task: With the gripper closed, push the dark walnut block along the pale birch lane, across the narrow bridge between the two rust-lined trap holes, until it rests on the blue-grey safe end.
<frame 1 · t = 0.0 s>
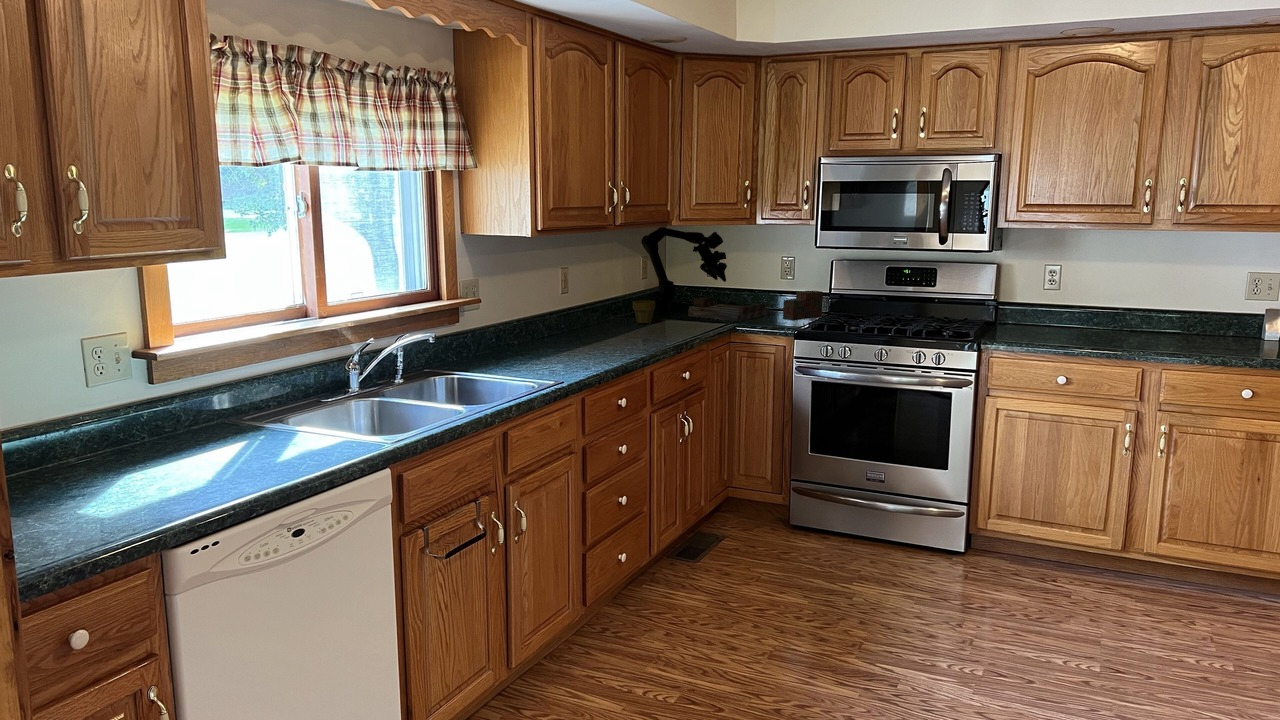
hand: (721, 280, 455), 15 cm above the worktop, tool tilted 35°, fingers open, 9 cm apart
walnut block: (702, 306, 448), point 3 cm above the worktop, touching trap deck
stack of blocks: (802, 318, 432), on the worktop
plant pot: (643, 323, 416), on the worktop
trap deck: (722, 314, 441), on the worktop
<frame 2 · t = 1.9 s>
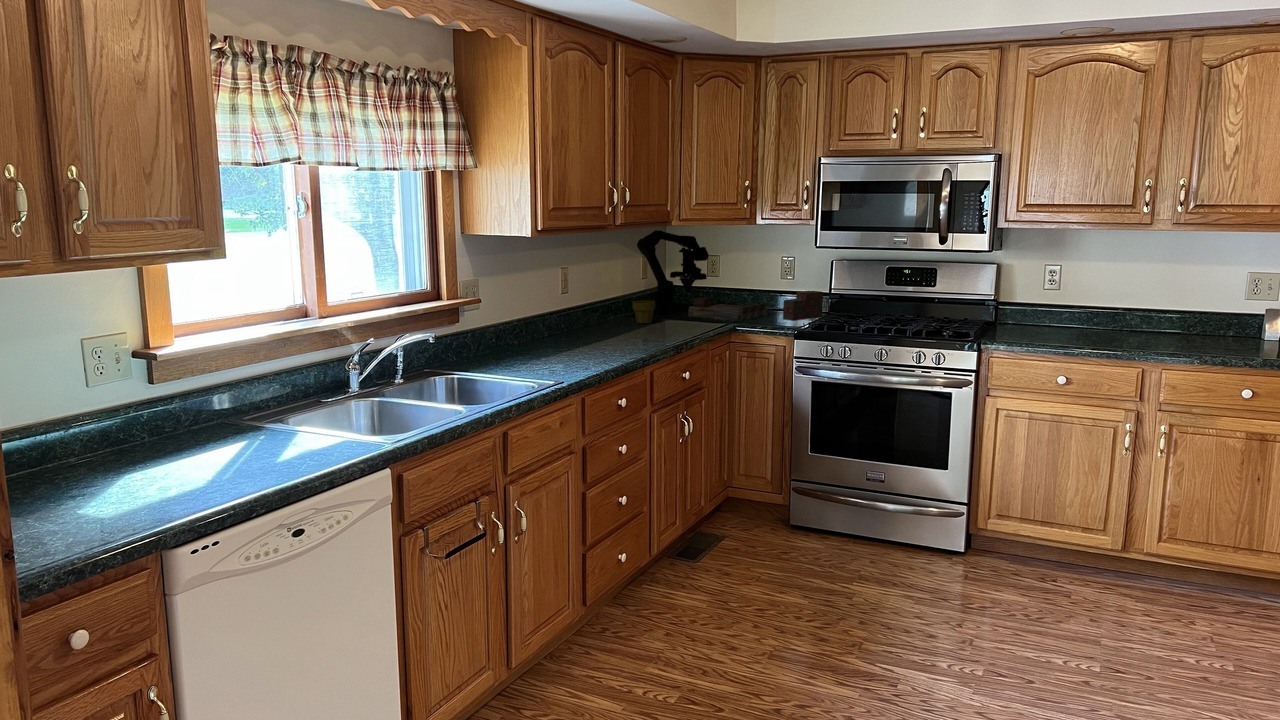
hand: (687, 293, 452), 9 cm above the worktop, tool pointing down, fingers closed
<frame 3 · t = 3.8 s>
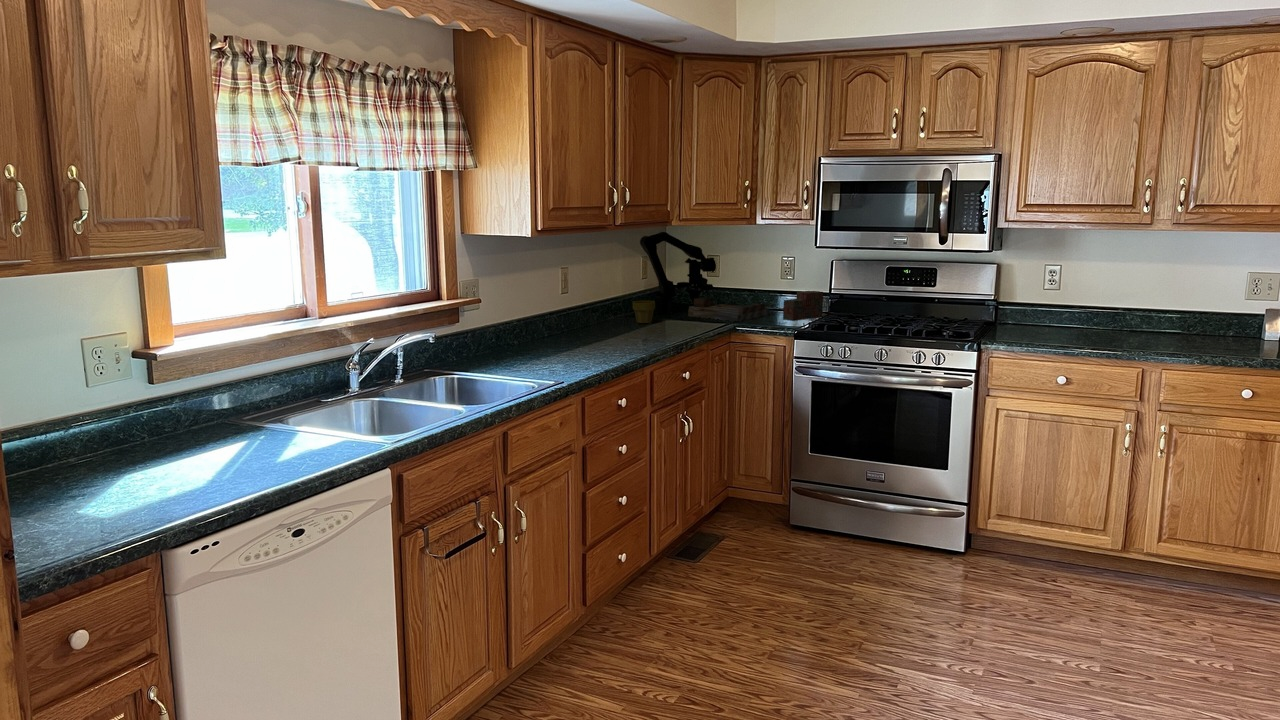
hand: (694, 303, 451), 4 cm above the worktop, tool pointing down, fingers closed
walnut block: (702, 306, 448), point 3 cm above the worktop, touching gripper
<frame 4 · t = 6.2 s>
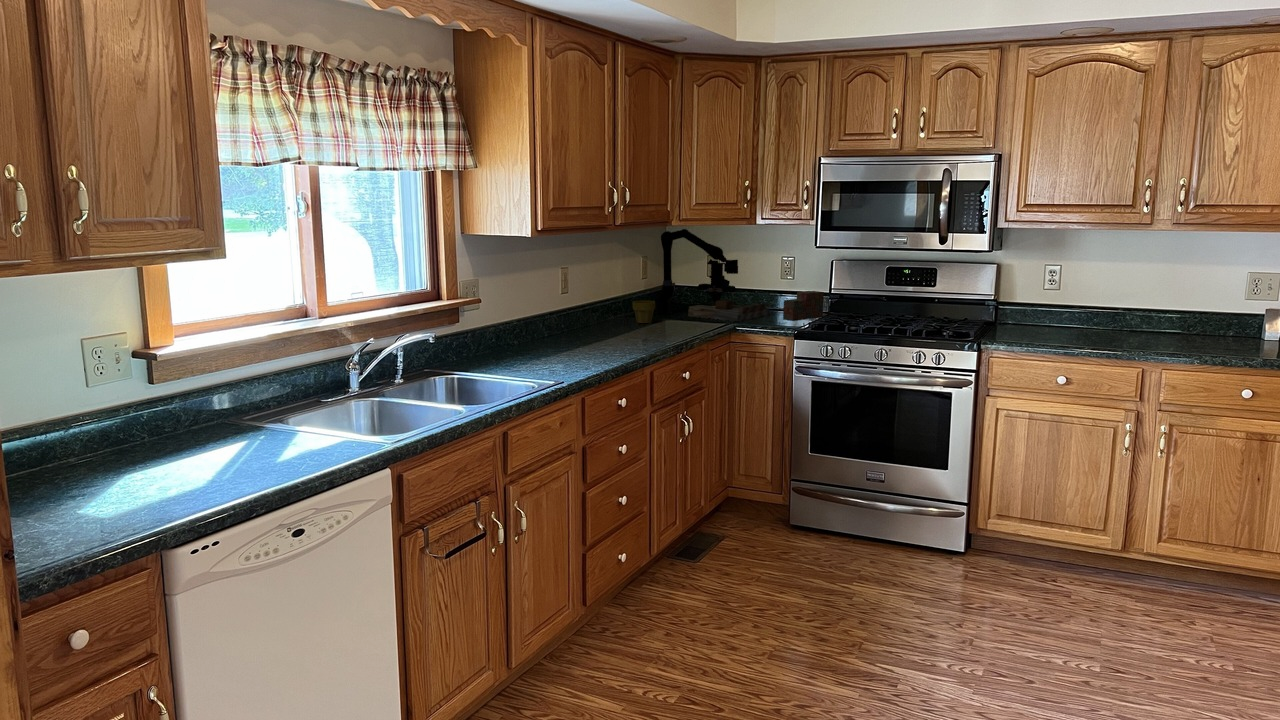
hand: (716, 305, 443), 4 cm above the worktop, tool pointing down, fingers closed
walnut block: (724, 309, 440), point 3 cm above the worktop, touching gripper, trap deck
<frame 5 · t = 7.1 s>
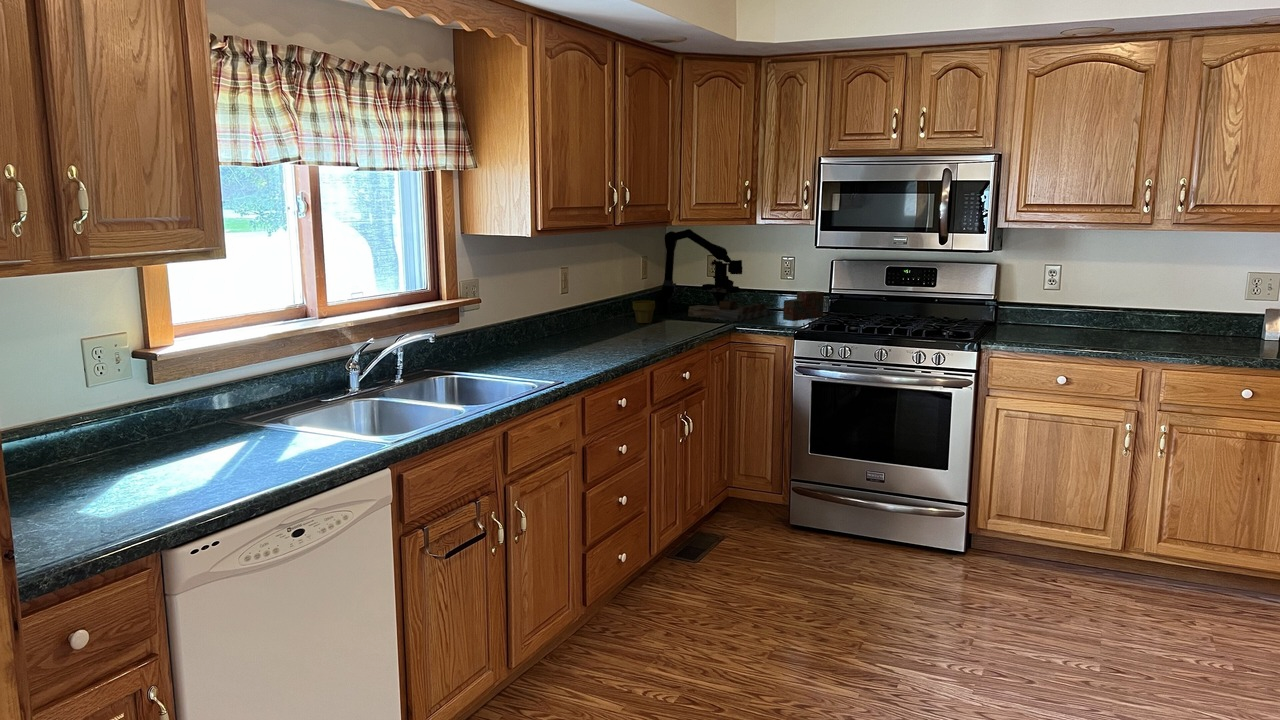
hand: (720, 306, 442), 4 cm above the worktop, tool pointing down, fingers closed
walnut block: (727, 309, 439), point 3 cm above the worktop, touching gripper, trap deck
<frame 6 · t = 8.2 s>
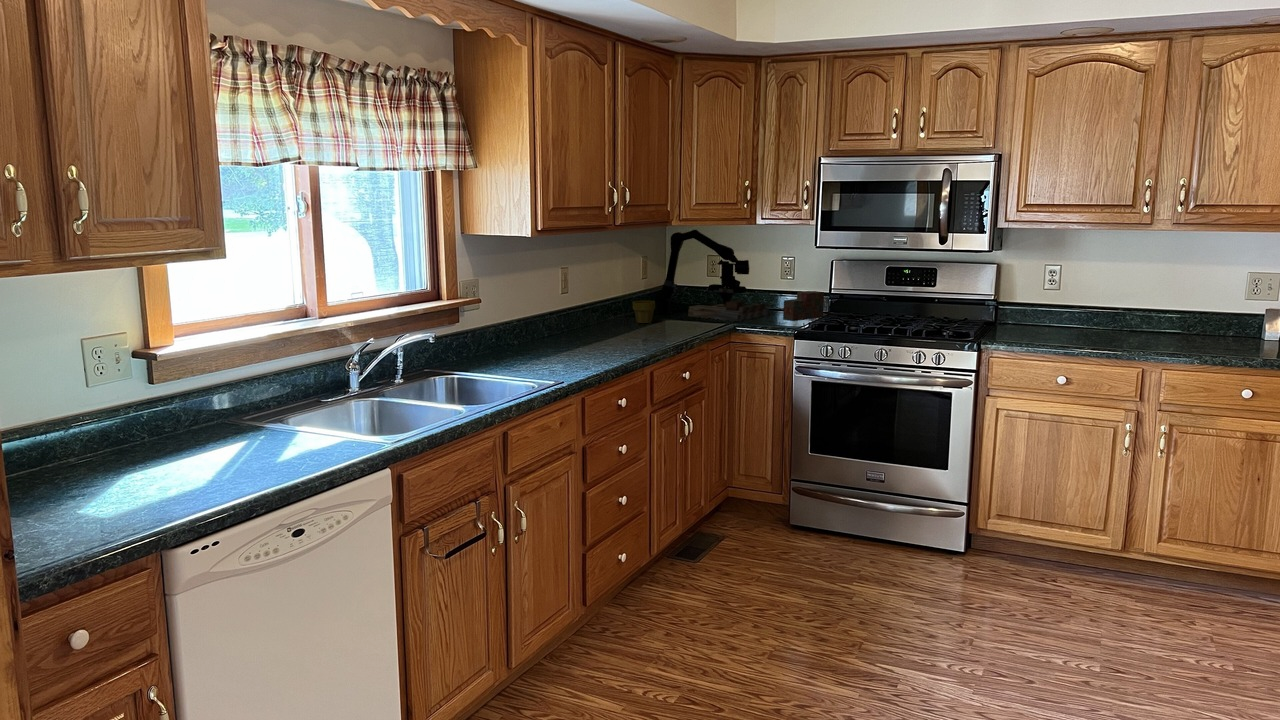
hand: (726, 306, 439), 4 cm above the worktop, tool pointing down, fingers closed
walnut block: (734, 310, 436), point 3 cm above the worktop, touching gripper, trap deck
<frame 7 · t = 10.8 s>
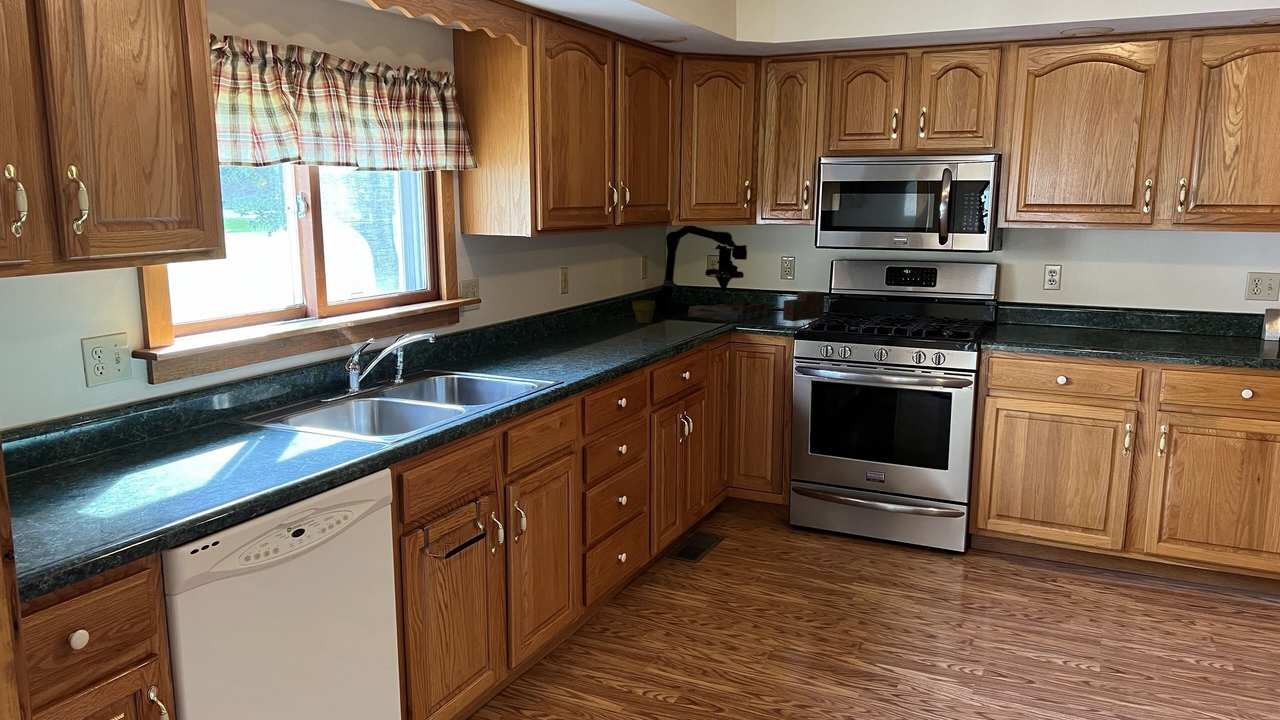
hand: (723, 291, 438), 11 cm above the worktop, tool pointing down, fingers closed
walnut block: (741, 310, 434), point 3 cm above the worktop, touching trap deck
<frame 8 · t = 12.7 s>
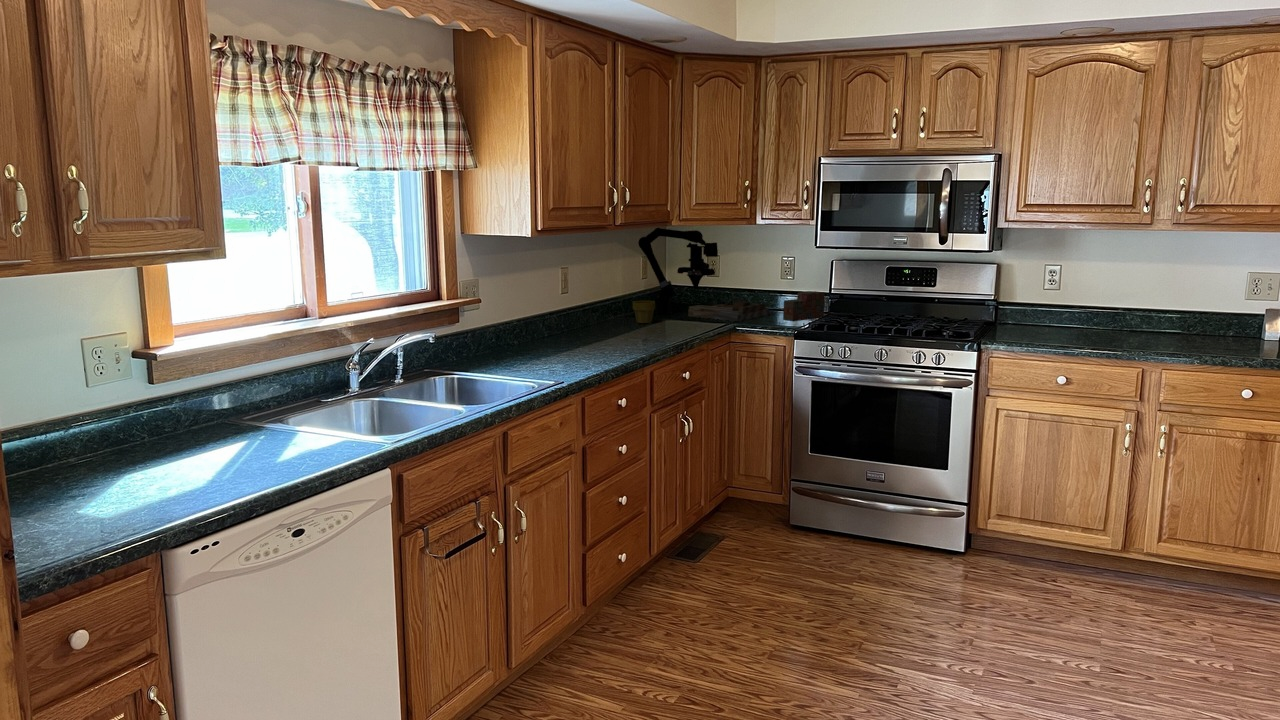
hand: (695, 288, 444), 12 cm above the worktop, tool pointing down, fingers closed
at the end: walnut block inside the target area (0.3 cm from its centre), point 3.0 cm above the worktop; walnut block tilted 0°; the gripper is holding nothing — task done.
